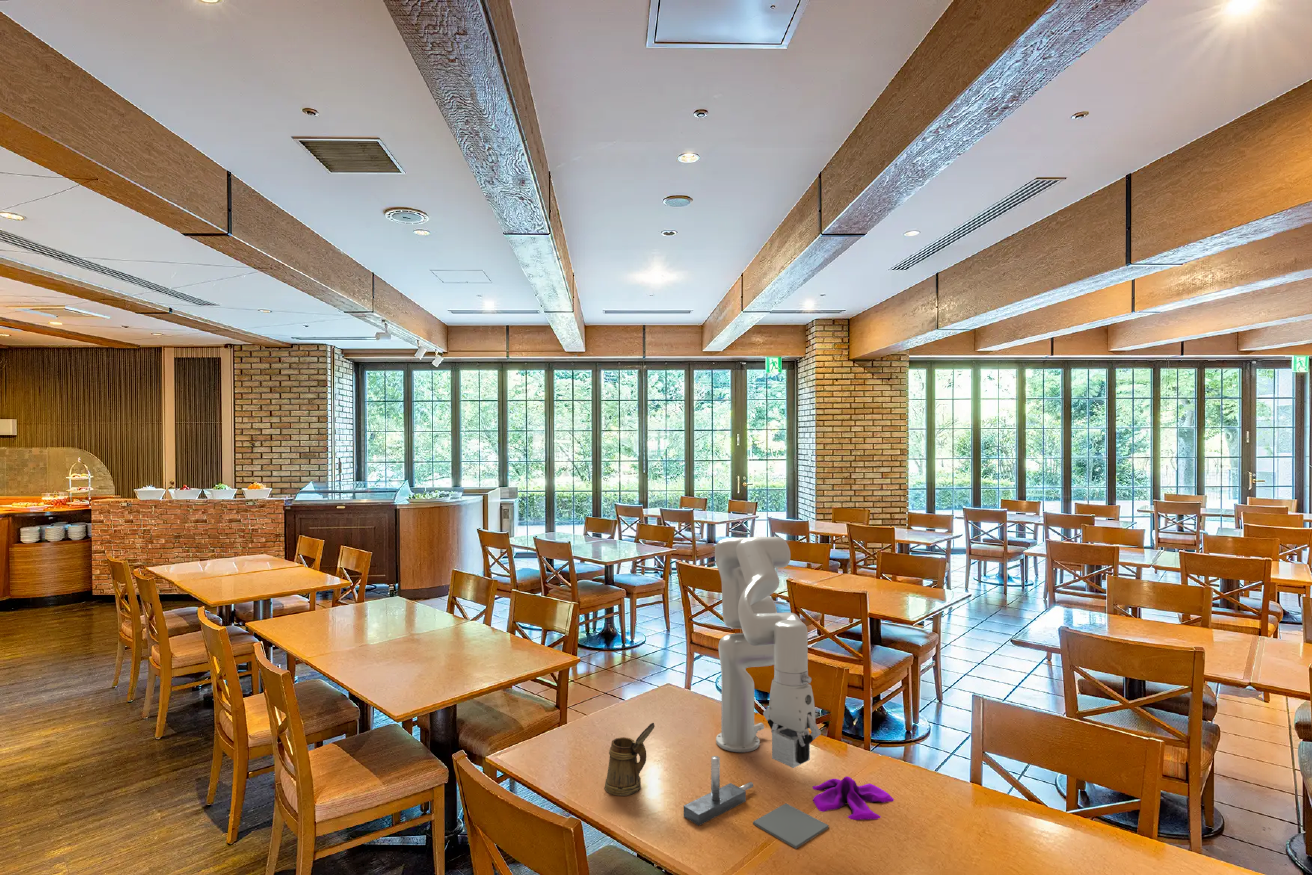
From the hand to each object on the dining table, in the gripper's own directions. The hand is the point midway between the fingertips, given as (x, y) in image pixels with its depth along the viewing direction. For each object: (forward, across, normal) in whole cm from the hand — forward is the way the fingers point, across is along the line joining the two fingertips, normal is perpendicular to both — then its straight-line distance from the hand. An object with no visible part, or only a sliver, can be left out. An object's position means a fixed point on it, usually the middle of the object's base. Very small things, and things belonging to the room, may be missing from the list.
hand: (791, 755), depth 147 cm
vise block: (+16, +16, +5) cm, 23 cm away
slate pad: (+16, 0, 0) cm, 16 cm away
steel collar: (+1, 0, 0) cm, 1 cm away
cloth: (+17, -1, -20) cm, 26 cm away
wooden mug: (+16, +36, +18) cm, 43 cm away
